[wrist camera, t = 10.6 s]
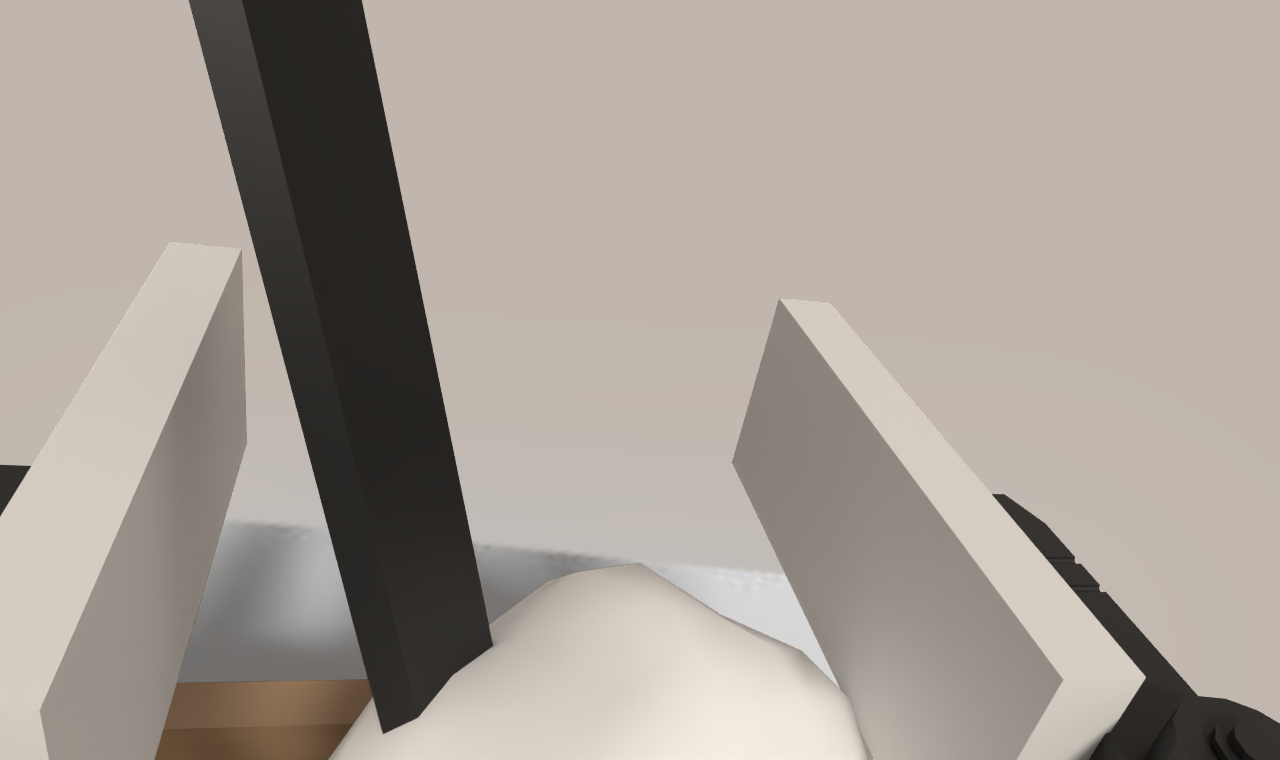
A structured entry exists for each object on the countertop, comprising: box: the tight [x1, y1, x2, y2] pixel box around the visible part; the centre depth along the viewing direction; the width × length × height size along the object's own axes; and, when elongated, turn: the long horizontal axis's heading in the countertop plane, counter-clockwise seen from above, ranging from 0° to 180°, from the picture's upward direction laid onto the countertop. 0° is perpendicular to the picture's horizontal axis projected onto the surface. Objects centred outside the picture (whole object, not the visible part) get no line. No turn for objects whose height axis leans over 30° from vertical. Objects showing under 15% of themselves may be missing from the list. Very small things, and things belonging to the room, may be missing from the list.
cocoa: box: [189, 0, 874, 760], centre depth 9 cm, size 10×6×12 cm, turn 40°
